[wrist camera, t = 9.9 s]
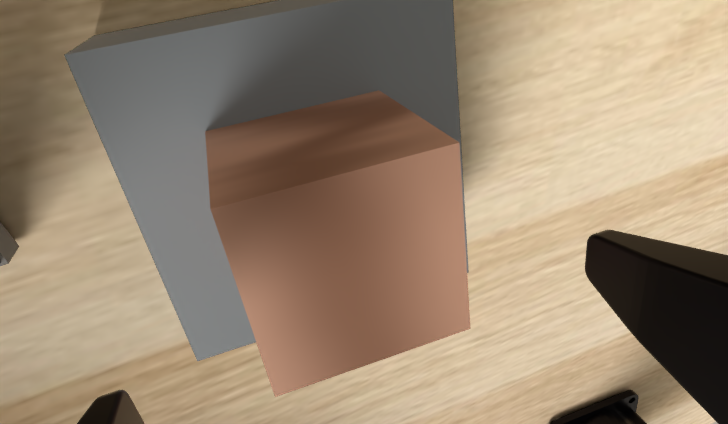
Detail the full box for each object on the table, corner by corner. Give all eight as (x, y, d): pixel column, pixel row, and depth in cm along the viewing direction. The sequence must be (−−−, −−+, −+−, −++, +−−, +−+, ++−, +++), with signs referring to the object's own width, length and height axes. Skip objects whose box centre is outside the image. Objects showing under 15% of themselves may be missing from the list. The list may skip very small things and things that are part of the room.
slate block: (399, -23, 17) (451, -22, 13) (425, 224, 22) (468, 272, 18) (94, 35, 15) (64, 55, 11) (197, 293, 20) (197, 361, 16)
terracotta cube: (379, 90, 14) (459, 142, 10) (398, 235, 17) (470, 328, 12) (205, 131, 13) (210, 209, 9) (252, 279, 16) (275, 396, 11)
